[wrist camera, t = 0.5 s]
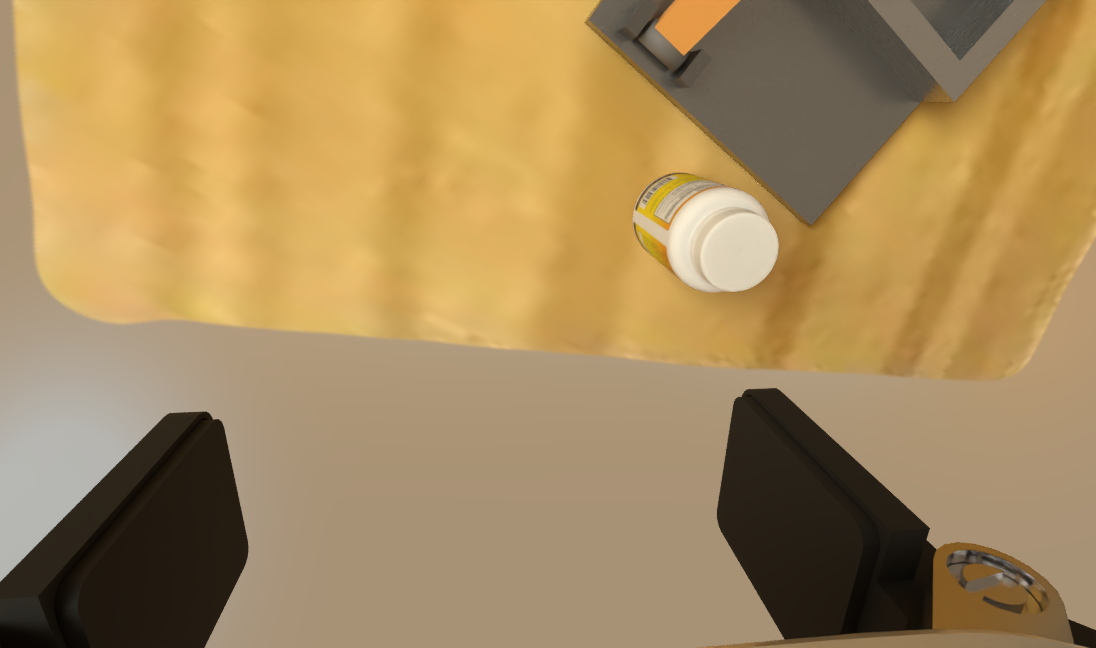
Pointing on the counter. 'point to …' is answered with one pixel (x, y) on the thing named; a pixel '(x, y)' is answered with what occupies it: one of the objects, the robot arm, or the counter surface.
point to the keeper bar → (682, 28)
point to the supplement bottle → (706, 232)
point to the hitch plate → (816, 78)
